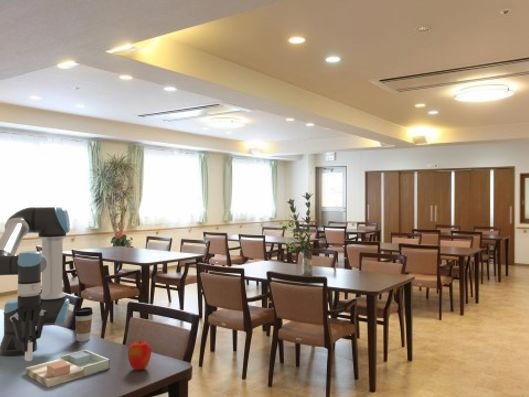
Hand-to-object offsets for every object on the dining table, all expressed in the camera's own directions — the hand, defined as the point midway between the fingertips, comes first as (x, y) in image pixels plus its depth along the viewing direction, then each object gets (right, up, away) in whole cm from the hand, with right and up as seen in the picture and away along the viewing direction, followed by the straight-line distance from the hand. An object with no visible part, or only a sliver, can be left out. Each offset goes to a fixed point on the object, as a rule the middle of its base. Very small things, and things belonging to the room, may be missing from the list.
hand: (28, 359), depth 166 cm
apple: (+35, -11, +19) cm, 41 cm away
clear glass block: (+8, -10, +25) cm, 29 cm away
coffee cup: (-3, -11, +58) cm, 59 cm away
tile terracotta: (+7, -8, +9) cm, 14 cm away
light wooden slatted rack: (+4, -11, +13) cm, 17 cm away
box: (+12, -11, +22) cm, 27 cm away
